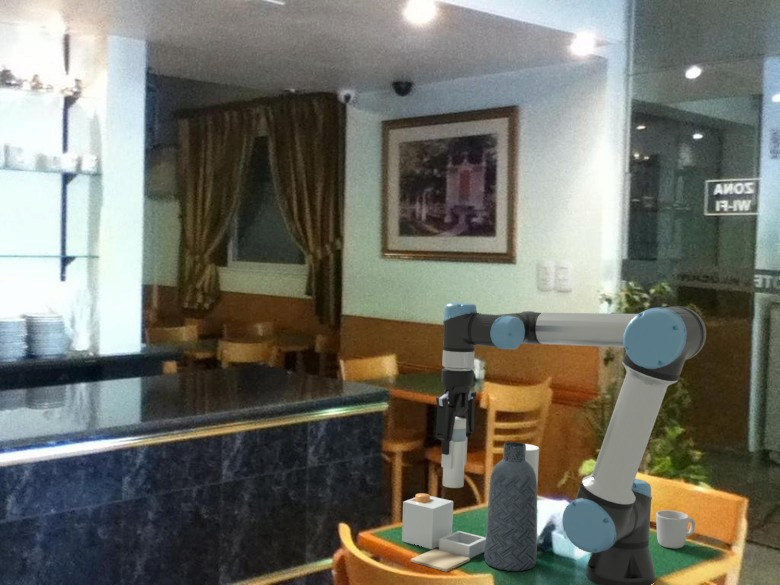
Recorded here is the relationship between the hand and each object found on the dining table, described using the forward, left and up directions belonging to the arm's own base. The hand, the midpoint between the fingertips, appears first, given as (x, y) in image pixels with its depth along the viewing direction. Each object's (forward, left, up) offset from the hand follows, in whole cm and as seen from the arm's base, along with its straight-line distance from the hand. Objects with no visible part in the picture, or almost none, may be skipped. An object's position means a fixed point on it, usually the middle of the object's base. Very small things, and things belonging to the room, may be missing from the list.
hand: (453, 465), depth 226 cm
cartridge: (0, 0, -5) cm, 5 cm away
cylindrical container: (-9, -17, -22) cm, 30 cm away
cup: (-38, -45, -22) cm, 63 cm away
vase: (-13, -5, -22) cm, 26 cm away
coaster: (0, +5, -22) cm, 22 cm away
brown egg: (+12, -5, -17) cm, 21 cm away
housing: (+5, -5, -22) cm, 23 cm away
